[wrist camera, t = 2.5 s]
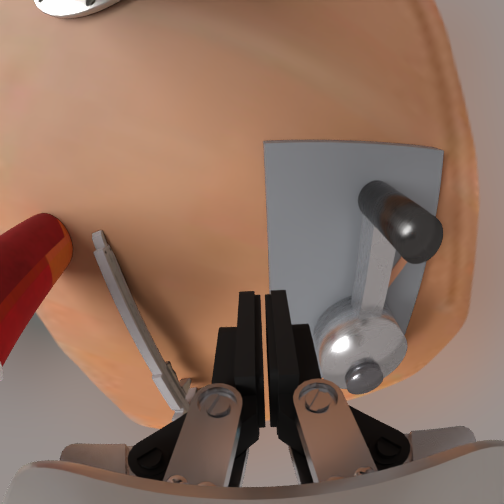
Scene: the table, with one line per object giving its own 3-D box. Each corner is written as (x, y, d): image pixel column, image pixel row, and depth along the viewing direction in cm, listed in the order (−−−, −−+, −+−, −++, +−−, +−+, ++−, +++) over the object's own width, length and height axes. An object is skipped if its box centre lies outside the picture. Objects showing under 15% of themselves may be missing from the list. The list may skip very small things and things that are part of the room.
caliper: (199, 387, 30) (193, 434, 25) (190, 388, 30) (183, 434, 25) (103, 227, 21) (64, 268, 16) (93, 231, 21) (54, 271, 16)
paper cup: (9, 218, 20) (-91, 303, 7) (58, 187, 19) (-71, 282, 7) (45, 286, 23) (-29, 390, 11) (98, 269, 22) (15, 399, 10)
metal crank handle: (322, 177, 17) (359, 215, 12) (416, 179, 17) (476, 214, 11) (310, 359, 25) (322, 420, 19) (380, 349, 25) (403, 404, 19)
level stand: (263, 140, 18) (264, 143, 17) (432, 147, 18) (444, 150, 17) (271, 370, 28) (272, 382, 27) (388, 356, 28) (392, 366, 27)
